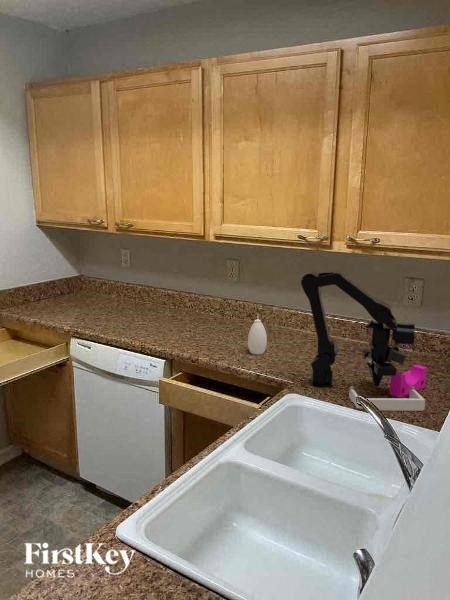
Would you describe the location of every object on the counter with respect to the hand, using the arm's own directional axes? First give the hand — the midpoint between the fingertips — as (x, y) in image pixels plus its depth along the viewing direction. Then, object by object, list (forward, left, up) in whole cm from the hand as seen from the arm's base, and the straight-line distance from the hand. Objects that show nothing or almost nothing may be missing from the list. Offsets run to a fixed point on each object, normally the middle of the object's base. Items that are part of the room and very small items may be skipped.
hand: (376, 385), depth 156 cm
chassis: (0, -8, -2) cm, 9 cm away
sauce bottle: (-37, +38, -3) cm, 53 cm away
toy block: (+11, +3, -3) cm, 12 cm away
